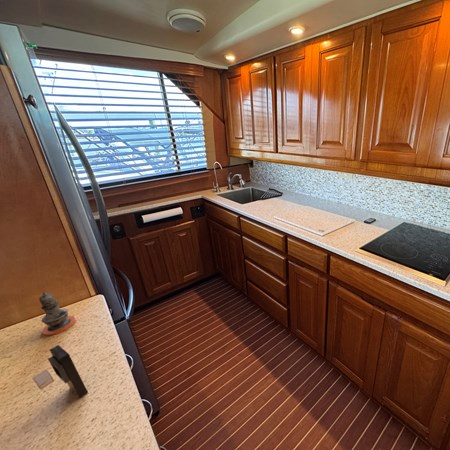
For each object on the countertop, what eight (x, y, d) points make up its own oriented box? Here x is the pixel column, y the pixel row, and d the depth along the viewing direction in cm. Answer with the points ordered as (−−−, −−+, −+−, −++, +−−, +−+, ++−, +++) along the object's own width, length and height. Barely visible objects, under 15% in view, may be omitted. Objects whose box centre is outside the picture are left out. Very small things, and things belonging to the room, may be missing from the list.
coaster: (36, 333, 71) (35, 331, 70) (64, 315, 77) (64, 314, 77) (55, 337, 69) (54, 336, 69) (82, 318, 76) (82, 317, 76)
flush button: (49, 377, 51) (44, 367, 50) (55, 383, 49) (50, 373, 48) (36, 385, 49) (30, 375, 48) (42, 392, 48) (36, 382, 47)
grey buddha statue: (46, 324, 73) (29, 292, 69) (71, 314, 77) (57, 283, 72) (45, 335, 69) (28, 301, 65) (72, 324, 73) (57, 292, 69)
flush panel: (77, 382, 56) (58, 344, 52) (88, 392, 54) (68, 353, 50) (65, 391, 54) (44, 352, 50) (75, 401, 52) (54, 362, 48)
